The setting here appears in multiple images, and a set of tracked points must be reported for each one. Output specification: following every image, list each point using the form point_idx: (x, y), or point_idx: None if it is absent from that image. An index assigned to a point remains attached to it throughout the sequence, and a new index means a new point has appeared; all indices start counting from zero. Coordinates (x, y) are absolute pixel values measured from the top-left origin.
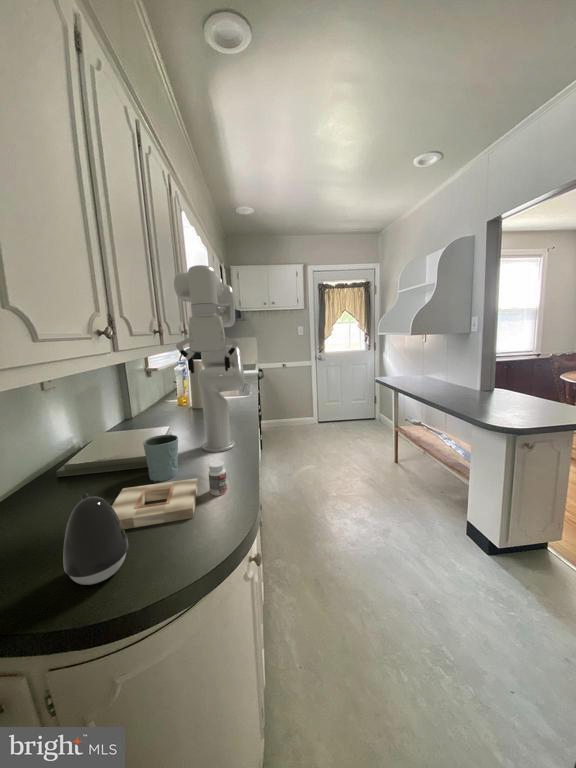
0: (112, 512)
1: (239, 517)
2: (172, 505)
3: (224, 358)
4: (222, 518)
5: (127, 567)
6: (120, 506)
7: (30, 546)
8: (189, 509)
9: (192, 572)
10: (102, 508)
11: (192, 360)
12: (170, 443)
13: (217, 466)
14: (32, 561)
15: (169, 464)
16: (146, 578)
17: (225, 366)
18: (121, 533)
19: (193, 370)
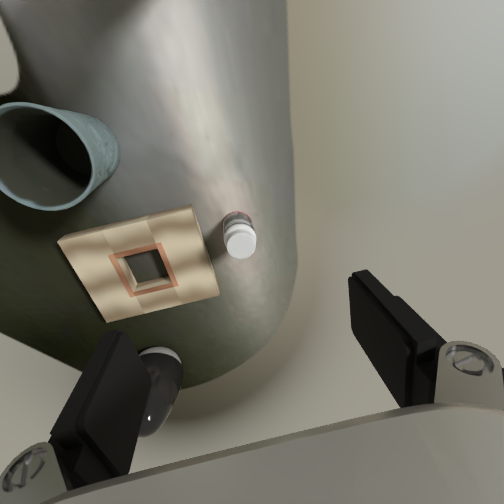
0: (167, 407)
1: (280, 285)
2: (186, 289)
3: (400, 390)
4: (258, 287)
5: (182, 351)
6: (103, 291)
7: (38, 334)
8: (215, 295)
9: (246, 352)
10: (161, 423)
11: (127, 473)
12: (91, 189)
13: (246, 257)
14: (70, 350)
15: (105, 178)
16: (208, 359)
17: (367, 352)
18: (178, 385)
19: (148, 393)
